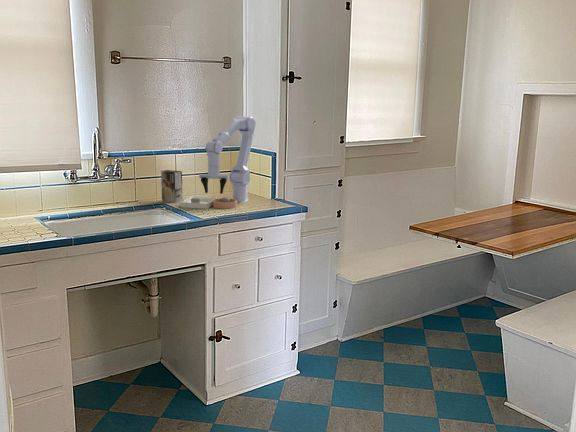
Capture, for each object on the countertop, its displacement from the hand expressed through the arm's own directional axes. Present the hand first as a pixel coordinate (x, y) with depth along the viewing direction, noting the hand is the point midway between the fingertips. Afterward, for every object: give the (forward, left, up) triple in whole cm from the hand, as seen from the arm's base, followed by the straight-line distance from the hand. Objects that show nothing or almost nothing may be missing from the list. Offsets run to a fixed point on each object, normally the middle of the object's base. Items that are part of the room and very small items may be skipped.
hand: (214, 193), depth 304 cm
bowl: (0, +6, -7) cm, 9 cm away
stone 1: (+3, -8, -6) cm, 11 cm away
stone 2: (-2, +5, -6) cm, 9 cm away
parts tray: (-1, -8, -7) cm, 10 cm away
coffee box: (-7, -24, -7) cm, 26 cm away
